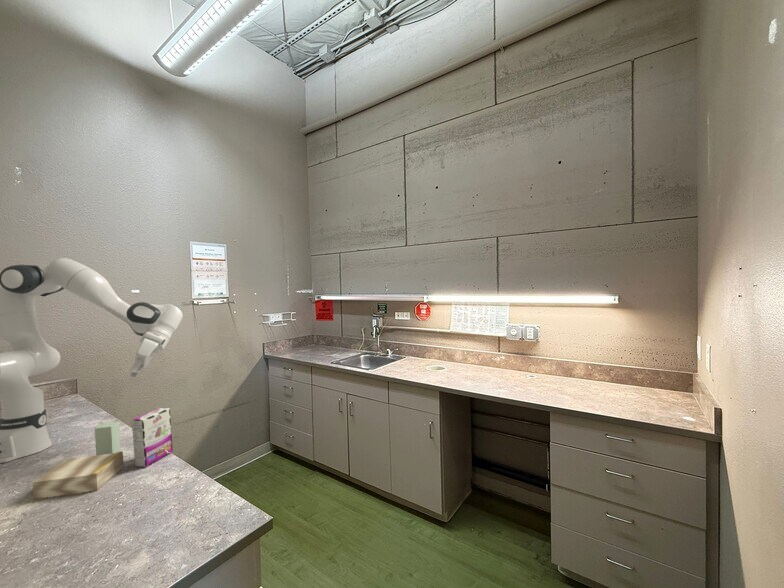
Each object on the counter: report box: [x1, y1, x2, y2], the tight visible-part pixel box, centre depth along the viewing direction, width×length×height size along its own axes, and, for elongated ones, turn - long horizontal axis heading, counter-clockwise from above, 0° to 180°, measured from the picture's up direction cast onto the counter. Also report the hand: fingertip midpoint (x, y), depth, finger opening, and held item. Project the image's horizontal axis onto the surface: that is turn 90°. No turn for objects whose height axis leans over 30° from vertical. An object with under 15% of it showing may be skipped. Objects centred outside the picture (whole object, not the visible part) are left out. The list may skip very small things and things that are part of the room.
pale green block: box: [94, 421, 122, 456], centre depth 122 cm, size 5×5×12 cm
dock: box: [32, 450, 124, 500], centre depth 107 cm, size 16×14×5 cm
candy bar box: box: [131, 407, 174, 468], centre depth 120 cm, size 11×5×16 cm, turn 168°
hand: (132, 374), depth 127 cm, fingers open, 8 cm apart
